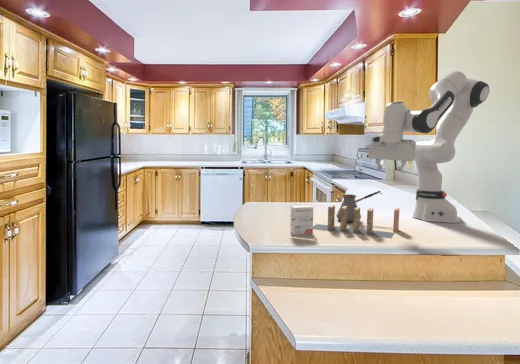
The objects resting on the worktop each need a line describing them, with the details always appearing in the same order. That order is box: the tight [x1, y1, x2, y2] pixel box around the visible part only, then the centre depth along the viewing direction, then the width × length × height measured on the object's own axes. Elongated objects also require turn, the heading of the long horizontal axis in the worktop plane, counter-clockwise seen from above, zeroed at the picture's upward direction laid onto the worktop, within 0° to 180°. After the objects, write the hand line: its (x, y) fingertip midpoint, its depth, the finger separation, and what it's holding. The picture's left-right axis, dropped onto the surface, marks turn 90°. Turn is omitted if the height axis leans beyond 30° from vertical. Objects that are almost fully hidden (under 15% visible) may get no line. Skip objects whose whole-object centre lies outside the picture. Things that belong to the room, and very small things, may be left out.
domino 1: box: [327, 204, 336, 230], centre depth 169 cm, size 2×5×10 cm, turn 154°
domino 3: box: [352, 206, 361, 233], centre depth 164 cm, size 2×5×10 cm, turn 155°
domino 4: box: [366, 207, 374, 234], centre depth 161 cm, size 2×5×10 cm, turn 154°
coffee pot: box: [335, 190, 383, 224], centre depth 184 cm, size 21×12×15 cm, turn 94°
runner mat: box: [313, 223, 395, 239], centre depth 165 cm, size 34×10×1 cm, turn 64°
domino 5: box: [392, 207, 400, 233], centre depth 165 cm, size 2×5×10 cm, turn 155°
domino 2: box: [339, 206, 348, 231], centre depth 166 cm, size 2×5×10 cm, turn 154°
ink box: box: [289, 205, 314, 236], centre depth 161 cm, size 9×5×12 cm, turn 101°
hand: (389, 170), depth 172 cm, fingers open, 8 cm apart
